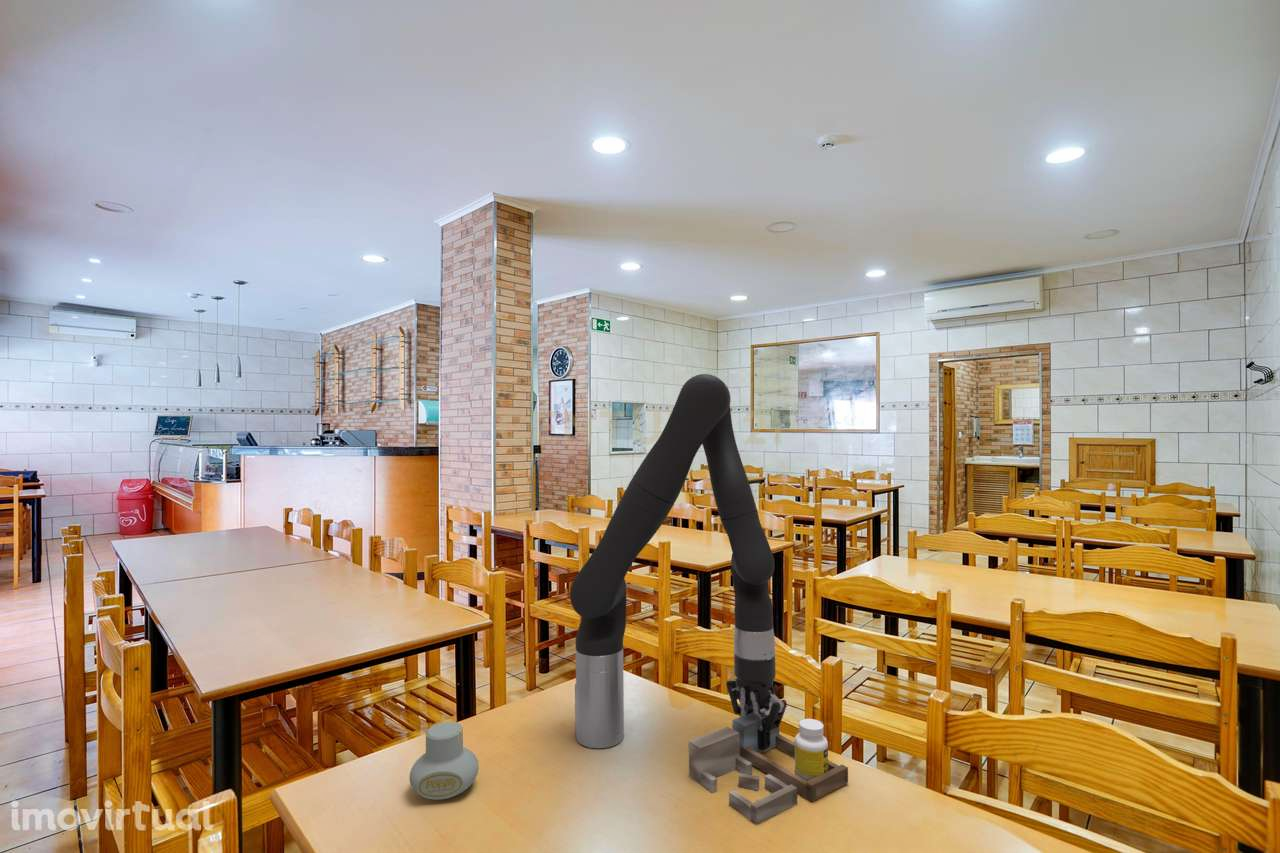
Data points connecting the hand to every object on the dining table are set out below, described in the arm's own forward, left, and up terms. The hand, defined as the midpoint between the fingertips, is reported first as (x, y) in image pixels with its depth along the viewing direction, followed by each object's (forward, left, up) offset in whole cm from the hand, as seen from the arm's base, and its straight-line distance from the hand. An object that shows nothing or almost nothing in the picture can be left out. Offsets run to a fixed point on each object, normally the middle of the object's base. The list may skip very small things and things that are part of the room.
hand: (756, 744), depth 114 cm
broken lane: (+7, -11, -1) cm, 13 cm away
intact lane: (+7, 0, -1) cm, 8 cm away
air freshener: (-21, -51, -1) cm, 55 cm away
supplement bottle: (+13, 0, -1) cm, 13 cm away
